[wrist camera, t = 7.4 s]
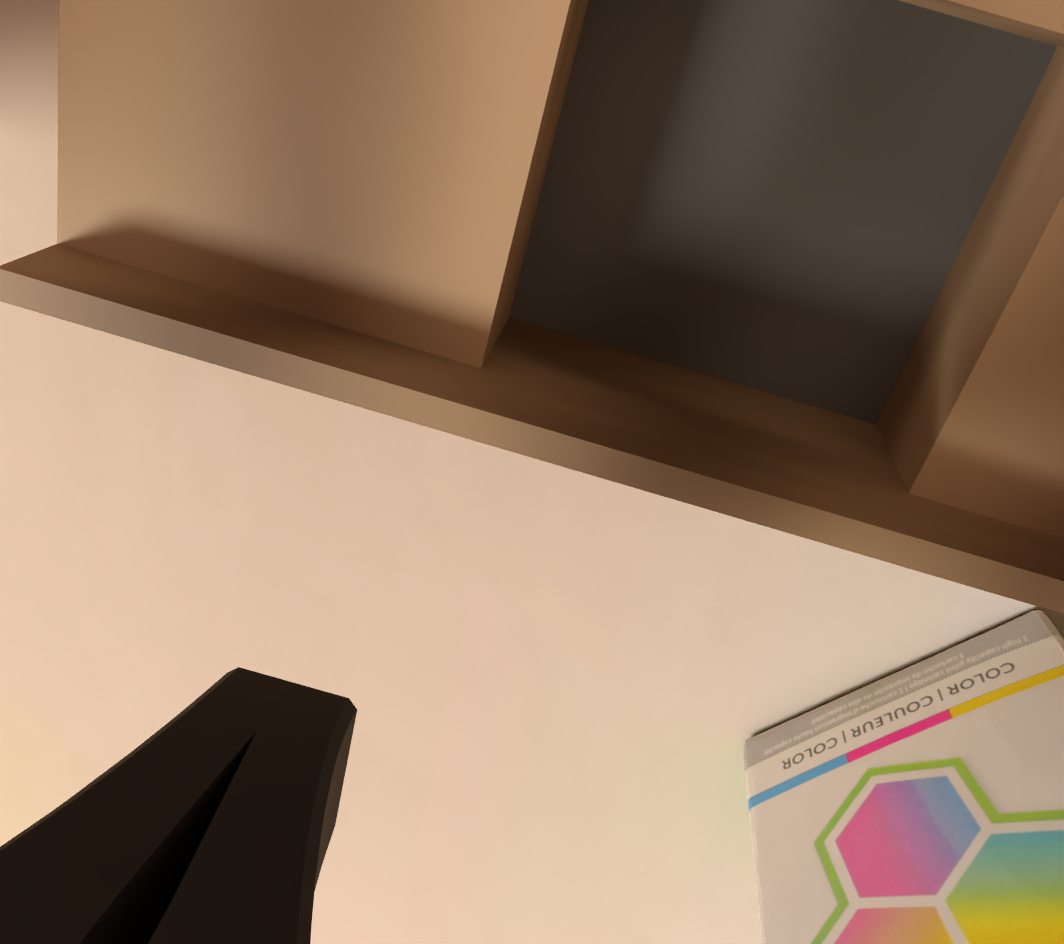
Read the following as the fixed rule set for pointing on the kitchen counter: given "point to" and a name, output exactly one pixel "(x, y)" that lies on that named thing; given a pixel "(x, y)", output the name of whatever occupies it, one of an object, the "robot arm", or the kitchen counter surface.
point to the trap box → (610, 241)
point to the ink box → (920, 802)
